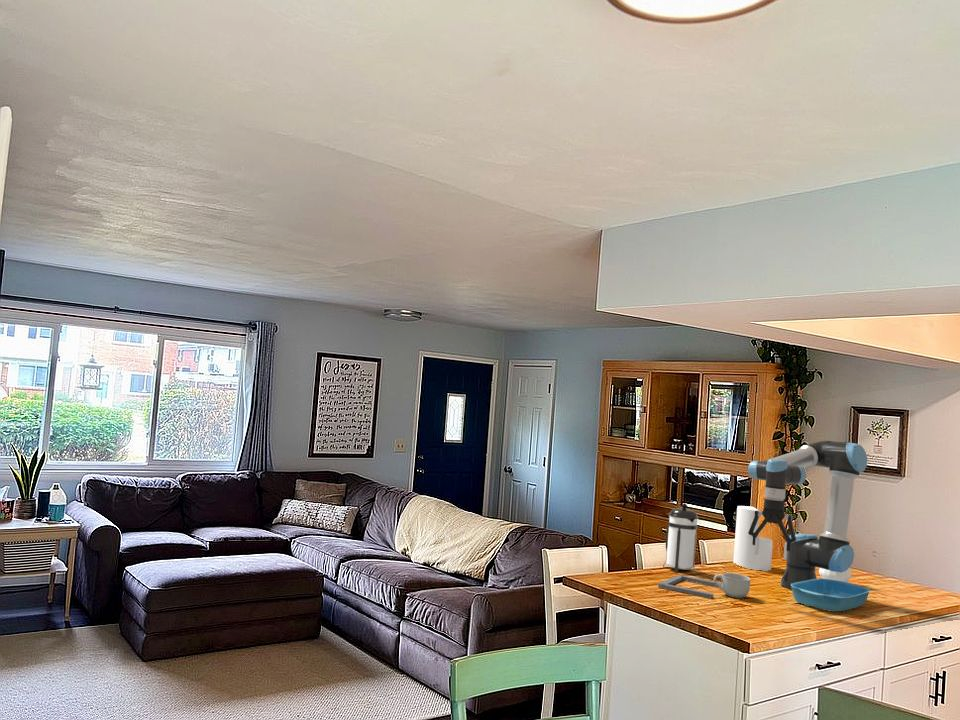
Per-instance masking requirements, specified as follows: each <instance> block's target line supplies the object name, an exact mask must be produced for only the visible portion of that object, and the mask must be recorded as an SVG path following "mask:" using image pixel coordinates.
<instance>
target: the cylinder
mask: <svg viewBox="0 0 960 720" xmlns="http://www.w3.org/2000/svg"><path fill="white" fill-rule="evenodd" d="M757 510H758V511H760V510H759V509H757V507H754V506H751V505H750V506H747V505H746V506H745V505H737V508H736V521H735V535H734V536H735V537H734V547H733V563H736V564H737V565H739V566H742V567H745V568H748V569H747V570H749V569H753V570H752V571H756V570H762V571H761V572H769V571H768V570H770V571H772V558H773V546H774V545H773V544H774V543H773V539H771V538H768V537H763V536H759V535H758V536H757V537H759V548H758V554H757V555H755V545H753V536H752V535H749V534H748V532H749V530H750V527H751V524H752V522H753V519H754V517H755V511H757ZM759 521H760V518H759V519H758V521H757V524H756V526H755V529H754V531H753V532H754V533H755V531H756V530H757V529H758V527H759V523H760V522H759ZM733 563H732V564H733Z"/></svg>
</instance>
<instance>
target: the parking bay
mask: <svg viewBox="0 0 960 720" xmlns="http://www.w3.org/2000/svg"><path fill="white" fill-rule="evenodd" d="M681 580H682V581H684V580H688V581H687V582H689V581H693V582H692V583H694V582H697V583H696V584H699V583H702V584H701V585H704V584H706V586H709V585H711V586H710V587H714V586H716V587H715V588H719V586H717V585H716V584H715V583H714V580H708V579H703V578H697V577H692V576H688V575H683V574H677V575H675V576H674V577H673V576H672V577H671V578H667V580H664V581H661V582H659V583H658V585H657V587H659V589H663V588H664V590H667V589H668V591H672V590H674V591H673V592H677V591H679V592H678V593H682V592H684V593H683V594H686V593H688V594H687V595H691V594H693V595H692V596H696V595H697V596H698V597H701V596H702V598H705V597H706V599H710V598H711V599H714V593H712V592H707V591H703V590H699V589H698V590H697V589H692V588H687V587H682V586H678V585H675V583H676V584H677V582H678V583H680V582H682V581H681ZM679 581H680V582H679ZM717 583H718V584H720V585H722V582H718V581H717ZM673 584H674V585H673ZM697 596H696V597H697Z"/></svg>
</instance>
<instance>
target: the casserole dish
mask: <svg viewBox="0 0 960 720" xmlns="http://www.w3.org/2000/svg"><path fill="white" fill-rule="evenodd" d="M791 588H792V589H791V591H792V595H793V598H794V600H795V601H796V602H797V603H798V604H799V603H801V604H800V605H802V604H804V605H803V606H805V605H808V606H807V607H809V606H813V607H816V608H815V609H817V608H820V609H819V610H821V609H825V610H830V611H843V612H846V611H845V610H847V611H850V610H853V609H852V608H854V609H856V607H857V608H860V607H861V606H863V605H864V604H865V603H866V601H867V600H868V596H869V594H870V592H871V591H870V589H869V588H866V587H863V586H861V585H857V584H855V583H851V582H842V581H836V580H829V579H822V578H817V579H812V580H807V581H802V582H796V583H793V584H791ZM859 606H860V607H859ZM813 607H812V608H813ZM849 609H850V610H849ZM825 610H824V611H825ZM830 611H829V612H830Z"/></svg>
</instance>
